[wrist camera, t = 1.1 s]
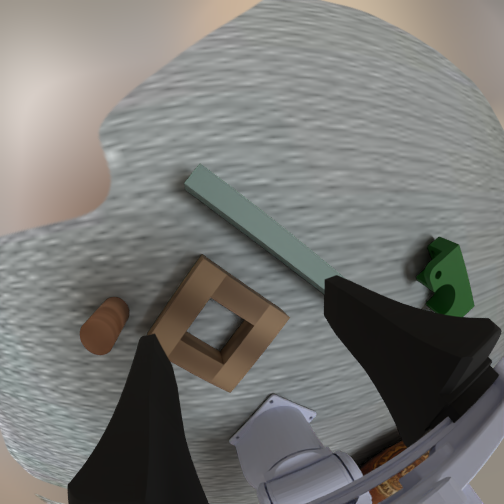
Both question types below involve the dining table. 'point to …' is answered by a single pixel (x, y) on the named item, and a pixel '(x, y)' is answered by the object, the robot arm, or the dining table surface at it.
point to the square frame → (240, 344)
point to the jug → (392, 483)
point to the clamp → (447, 279)
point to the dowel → (104, 326)
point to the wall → (258, 226)
